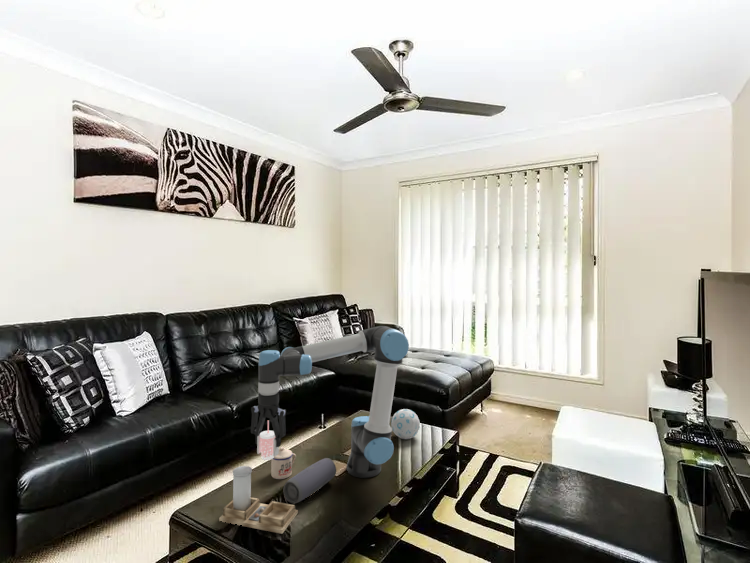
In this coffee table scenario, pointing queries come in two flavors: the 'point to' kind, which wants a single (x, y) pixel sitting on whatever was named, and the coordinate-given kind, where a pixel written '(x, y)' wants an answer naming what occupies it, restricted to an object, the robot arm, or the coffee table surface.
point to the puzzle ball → (405, 424)
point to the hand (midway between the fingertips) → (267, 453)
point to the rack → (261, 515)
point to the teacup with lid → (282, 464)
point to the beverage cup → (267, 444)
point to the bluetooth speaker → (309, 480)
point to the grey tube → (242, 488)
